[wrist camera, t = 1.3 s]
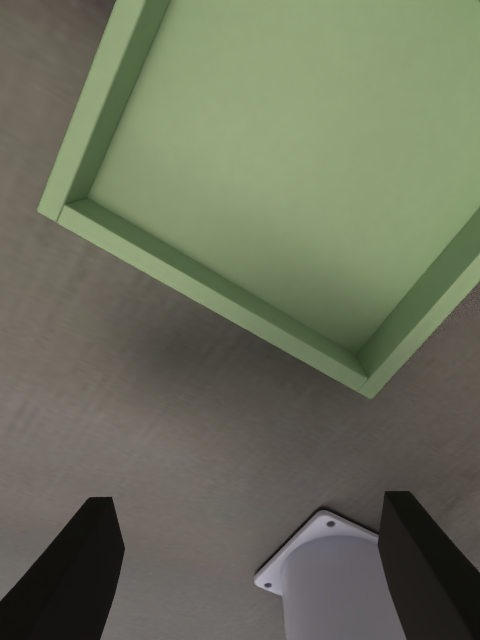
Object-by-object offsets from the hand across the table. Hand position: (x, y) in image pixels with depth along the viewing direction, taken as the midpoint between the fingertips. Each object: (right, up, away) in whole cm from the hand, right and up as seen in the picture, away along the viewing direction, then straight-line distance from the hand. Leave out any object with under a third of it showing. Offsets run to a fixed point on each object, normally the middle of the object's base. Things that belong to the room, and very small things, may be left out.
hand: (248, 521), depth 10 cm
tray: (+3, +12, +5) cm, 14 cm away
